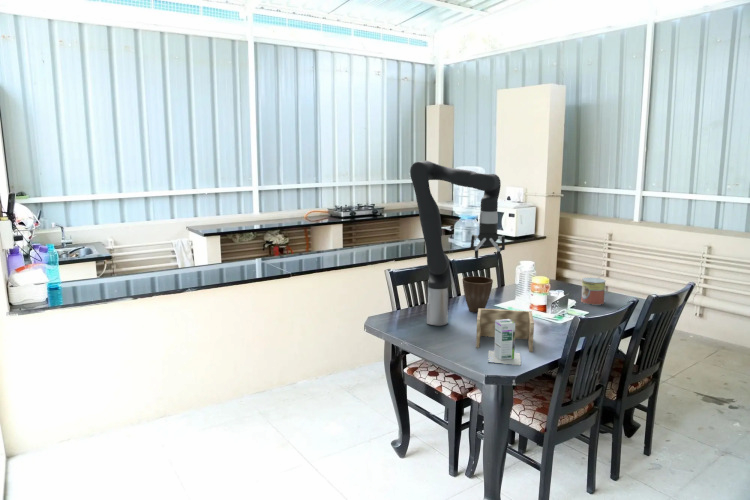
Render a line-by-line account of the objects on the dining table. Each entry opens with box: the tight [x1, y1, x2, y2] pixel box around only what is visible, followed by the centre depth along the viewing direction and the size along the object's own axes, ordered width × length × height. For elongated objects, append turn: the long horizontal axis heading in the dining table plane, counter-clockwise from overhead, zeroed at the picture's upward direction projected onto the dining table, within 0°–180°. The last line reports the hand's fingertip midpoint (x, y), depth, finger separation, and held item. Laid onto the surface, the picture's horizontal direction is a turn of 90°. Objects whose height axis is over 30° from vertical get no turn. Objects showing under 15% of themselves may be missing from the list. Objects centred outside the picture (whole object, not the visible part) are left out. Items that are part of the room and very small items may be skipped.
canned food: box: [580, 277, 606, 306], centre depth 276 cm, size 11×11×12 cm
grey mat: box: [487, 350, 522, 367], centre depth 201 cm, size 12×12×1 cm
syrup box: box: [493, 319, 516, 360], centre depth 200 cm, size 6×6×14 cm
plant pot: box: [461, 275, 494, 313], centre depth 262 cm, size 15×15×16 cm
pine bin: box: [475, 308, 535, 353], centre depth 216 cm, size 22×16×12 cm
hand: (487, 259), depth 224 cm, fingers open, 8 cm apart
